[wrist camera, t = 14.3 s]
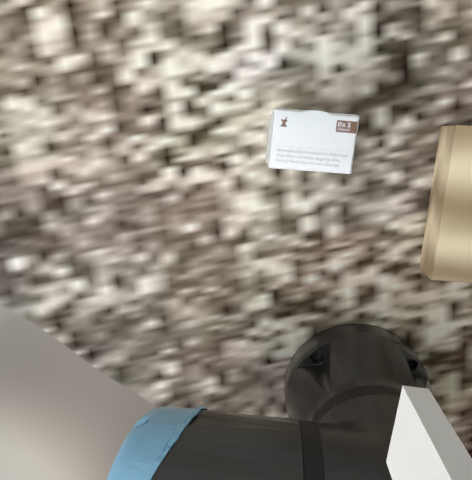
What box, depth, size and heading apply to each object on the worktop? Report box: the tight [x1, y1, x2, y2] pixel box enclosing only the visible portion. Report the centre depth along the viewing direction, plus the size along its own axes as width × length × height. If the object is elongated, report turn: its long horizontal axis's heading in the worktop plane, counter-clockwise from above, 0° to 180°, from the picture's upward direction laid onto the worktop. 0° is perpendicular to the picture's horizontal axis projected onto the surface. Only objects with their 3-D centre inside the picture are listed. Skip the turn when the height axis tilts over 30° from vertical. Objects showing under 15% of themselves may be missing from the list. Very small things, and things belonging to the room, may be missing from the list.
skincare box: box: [266, 108, 360, 174], centre depth 35 cm, size 6×4×12 cm
